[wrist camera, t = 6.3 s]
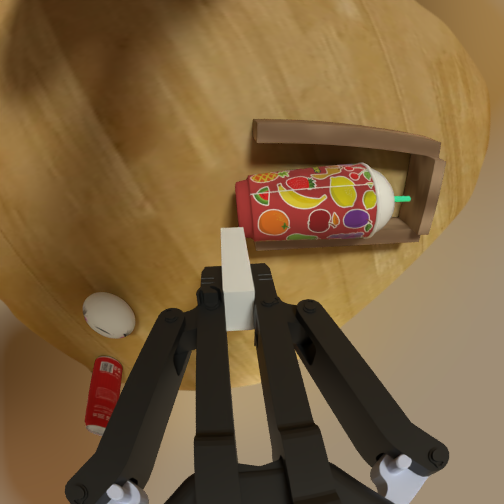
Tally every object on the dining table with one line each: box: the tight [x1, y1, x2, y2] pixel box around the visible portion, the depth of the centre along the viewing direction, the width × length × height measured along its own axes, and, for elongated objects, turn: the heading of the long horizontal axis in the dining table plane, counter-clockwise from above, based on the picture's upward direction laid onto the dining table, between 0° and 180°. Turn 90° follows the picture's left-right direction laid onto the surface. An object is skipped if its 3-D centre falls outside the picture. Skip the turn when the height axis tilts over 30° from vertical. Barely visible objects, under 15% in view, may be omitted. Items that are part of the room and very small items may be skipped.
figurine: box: [83, 292, 135, 338], centre depth 35 cm, size 8×6×7 cm
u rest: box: [253, 119, 446, 251], centre depth 30 cm, size 14×22×5 cm, turn 90°
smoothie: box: [235, 162, 411, 242], centre depth 29 cm, size 8×8×20 cm
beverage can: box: [85, 356, 123, 436], centre depth 40 cm, size 6×6×15 cm
